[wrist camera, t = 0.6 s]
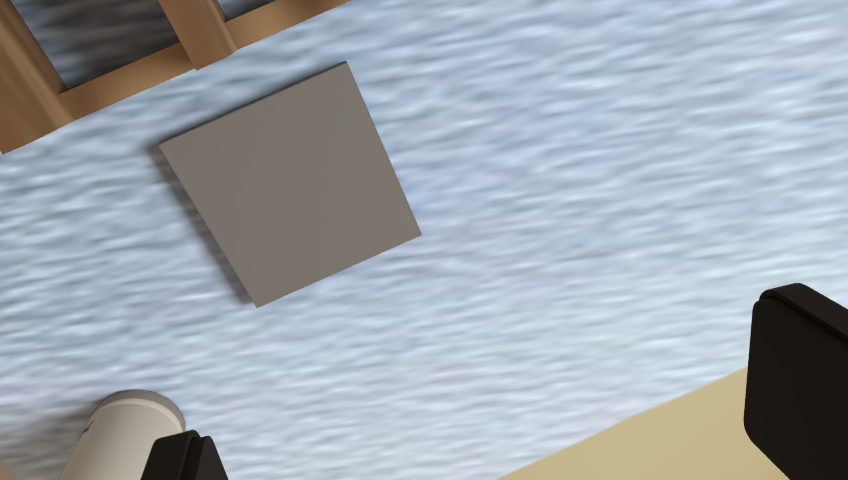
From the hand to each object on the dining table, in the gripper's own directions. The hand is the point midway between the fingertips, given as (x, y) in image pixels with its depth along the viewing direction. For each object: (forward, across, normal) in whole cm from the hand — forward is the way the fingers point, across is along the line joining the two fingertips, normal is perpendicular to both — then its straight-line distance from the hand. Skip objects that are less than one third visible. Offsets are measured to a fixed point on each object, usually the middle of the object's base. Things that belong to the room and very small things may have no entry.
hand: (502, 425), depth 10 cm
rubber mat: (+29, +5, +4) cm, 30 cm away
